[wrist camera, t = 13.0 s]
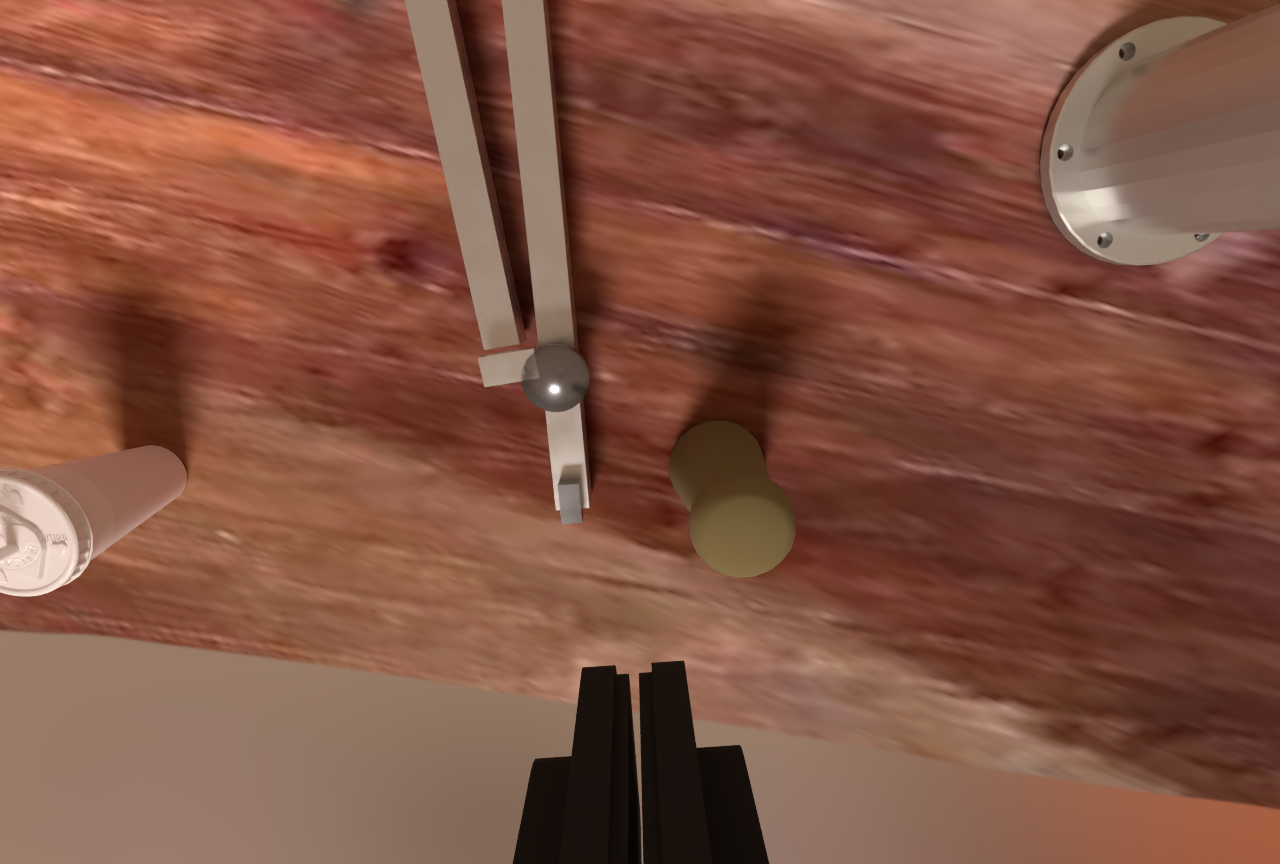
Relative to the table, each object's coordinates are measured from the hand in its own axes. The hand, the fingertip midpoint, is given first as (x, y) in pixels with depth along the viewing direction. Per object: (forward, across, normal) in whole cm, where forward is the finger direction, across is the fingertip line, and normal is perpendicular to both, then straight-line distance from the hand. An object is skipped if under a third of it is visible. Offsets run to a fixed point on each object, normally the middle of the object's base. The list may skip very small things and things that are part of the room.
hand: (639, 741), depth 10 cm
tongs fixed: (+29, +4, -9) cm, 31 cm away
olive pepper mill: (+29, -5, +5) cm, 30 cm away
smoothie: (+29, +30, +3) cm, 42 cm away
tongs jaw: (+29, +6, -12) cm, 32 cm away
